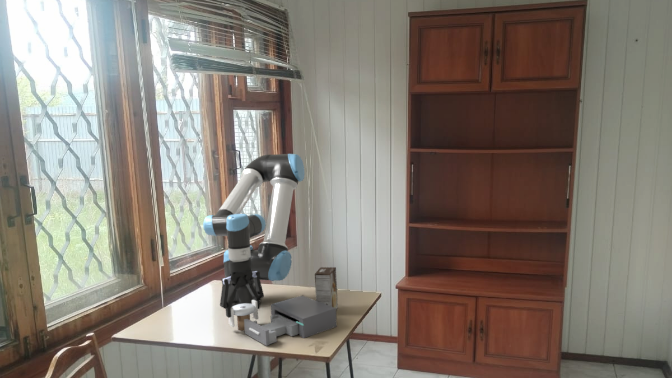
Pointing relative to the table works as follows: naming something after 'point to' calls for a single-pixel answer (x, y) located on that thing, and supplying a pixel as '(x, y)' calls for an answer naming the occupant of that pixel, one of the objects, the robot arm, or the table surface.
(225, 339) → the table surface
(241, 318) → the brown rounded peg
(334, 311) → the housing
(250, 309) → the lid
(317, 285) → the coffee box
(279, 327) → the grey drawer
